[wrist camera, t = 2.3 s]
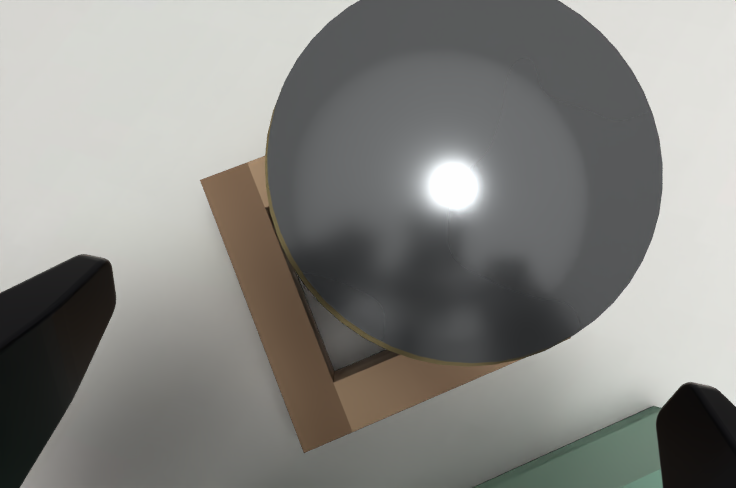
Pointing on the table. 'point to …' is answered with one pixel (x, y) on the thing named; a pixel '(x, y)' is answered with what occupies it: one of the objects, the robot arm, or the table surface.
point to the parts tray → (596, 460)
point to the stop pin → (463, 175)
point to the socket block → (311, 327)
